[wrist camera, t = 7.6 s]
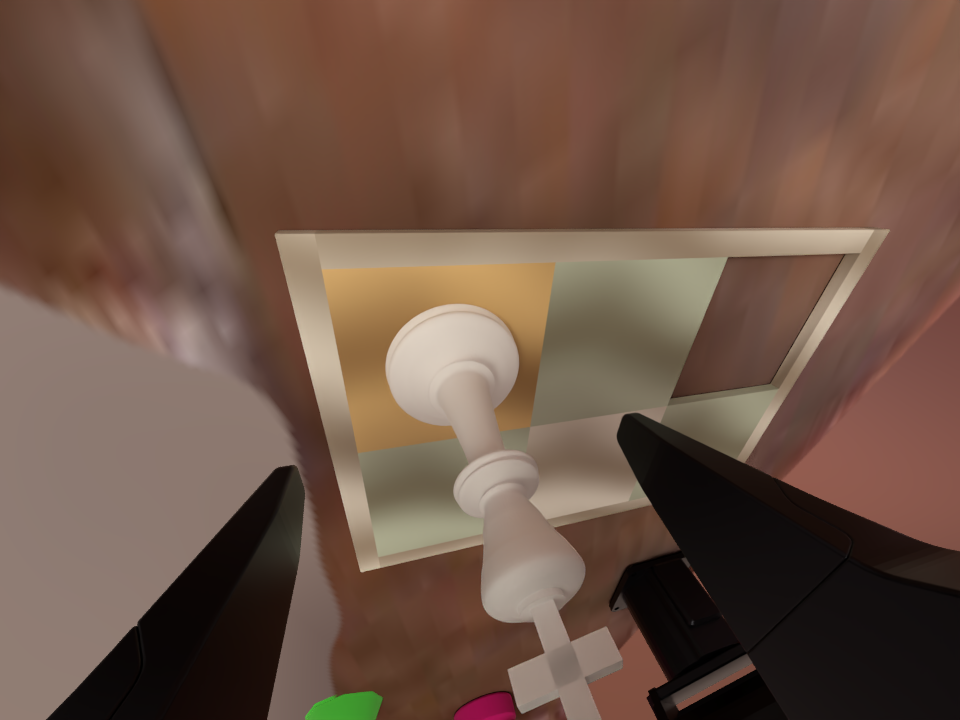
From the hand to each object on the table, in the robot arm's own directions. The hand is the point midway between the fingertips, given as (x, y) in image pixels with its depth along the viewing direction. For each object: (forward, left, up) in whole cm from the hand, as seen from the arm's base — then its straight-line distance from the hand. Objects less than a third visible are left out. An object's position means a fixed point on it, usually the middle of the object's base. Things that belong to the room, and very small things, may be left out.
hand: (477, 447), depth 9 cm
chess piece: (0, 0, -4) cm, 5 cm away
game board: (-4, -7, -5) cm, 10 cm away
